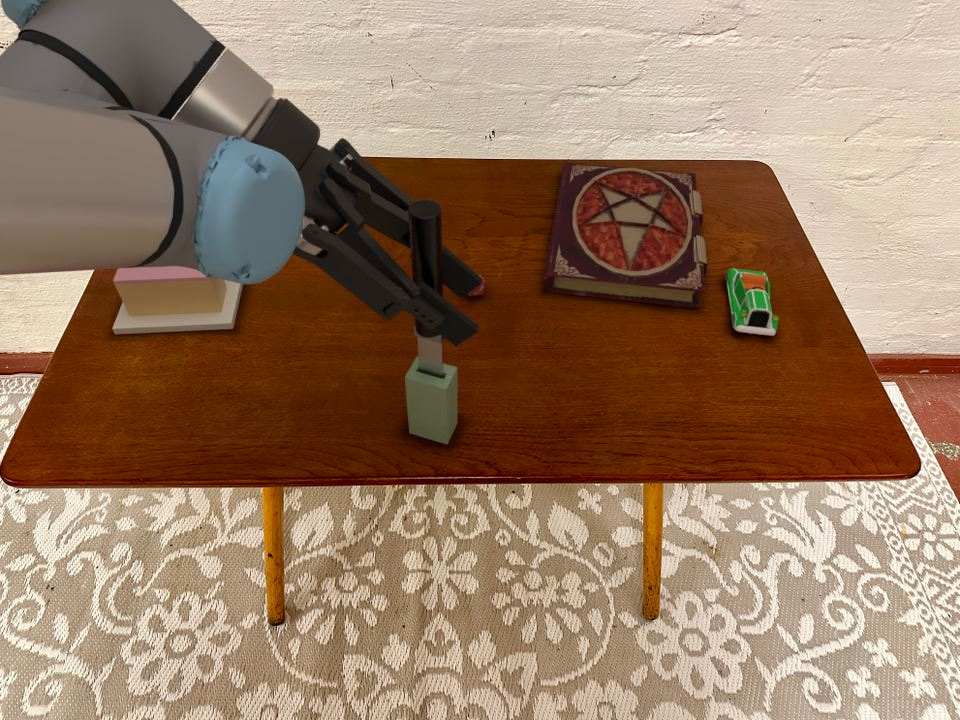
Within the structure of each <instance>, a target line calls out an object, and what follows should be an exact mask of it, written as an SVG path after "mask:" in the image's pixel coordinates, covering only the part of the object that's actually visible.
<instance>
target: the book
mask: <svg viewBox="0 0 960 720" xmlns="http://www.w3.org/2000/svg"><path fill="white" fill-rule="evenodd" d="M697 187H698V186H697V175H696V173H695V172H685V171H684V172H682V171H671V170H658V169H645V168H635V167H623V166H612V165H611V166H610V165H600V164H599V165H598V164H586V163H575V162H574V163H573V162H566V163H564V165H563V166H562V170H561V176H560V181H559V188H558V194H557V200H556V205H555V210H554V211H555V212H554V217H553V224H552V228H551V235H550V240H549V246H548V252H547V258H546V263H545V270H544V275H543V284H542V287H543V289H544V290H545V291H546V292H548V293H549V292H550V293H556V294H557V293H558V294H566V295H567V294H568V295H575V296H583V297H592V298H593V297H594V298H600V299H601V298H602V299H610V300H618V301H619V300H620V301H627V302H635V303H643V304H653V305H662V306H670V307H671V306H672V307H680V308H689V309H697V310H701V306H702V305H701V296H700V295H701V294H700V293H706V282H705V277H706V275H707V274H708V273H707V272H708V256H707V245H706V244H707V243H706V238H705V237H703V236H702V235H701V227H702V225H703V221H704V220H703V219H704V213H703V201H702V193H701V192H699V191H698V189H697Z"/></svg>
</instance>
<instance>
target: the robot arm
mask: <svg viewBox="0 0 960 720" xmlns="http://www.w3.org/2000/svg"><path fill="white" fill-rule="evenodd" d="M0 5H1V8H2V11H3V13H4V15H5V17H7V18H8V19H9V21H11V22H12V23H14V24H15V25H16V26H17V29H18V30H19V32H18V33H17V38H16V39H15V40H14V41H13V42H12V43H10V45H8V46H7V48H5V50H3V52H2V53H1V54H0V276H12V275H29V274H30V275H31V274H45V273H47V274H48V273H62V272H63V273H64V272H81V271H100V270H101V271H102V270H118V268H136V267H166V266H179V267H186V268H191V269H195V270H198V271H200V272H201V273H203V274H204V275H205V276H206V277H210V278H211V279H218V278H220V279H224V280H228V281H232V282H236V283H240V284H243V285H256V284H260V283H262V282H265V281H267V280H268V279H271V278H272V277H273V276H274V275H276V274H277V273H278V272H280V271H281V270H282V269H283V267H284V266H285V265H286V264H287V263H288V261H289V259H290V258H292V257H291V256H292V255H294V256H295V257H298V258H300V259H302V260H303V261H307V262H309V263H311V264H313V265H315V266H316V267H317V268H319V269H320V270H321V271H322V272H324V273H325V274H326V275H328V276H329V277H330V278H331V279H333V280H334V281H335V282H336V283H337V284H339V285H340V286H341V287H343V288H344V289H345V290H347V291H348V292H349V293H351V295H353V296H355V298H357V299H358V300H359V301H361V302H362V303H363V304H365V305H366V306H367V307H369V308H370V309H371V310H372V311H373V312H375V313H376V314H377V315H378V316H380V317H381V318H382V319H383V320H385V321H391V320H392V319H394V318H395V317H396V316H398V315H399V314H400V313H402V312H404V311H405V312H406V313H407V314H409V315H410V316H411V317H412V318H414V320H415V319H417V320H418V321H419V322H421V323H423V325H425V326H426V327H427V328H430V329H433V330H435V331H436V332H437V333H439V334H440V335H441V336H443V337H444V339H445V340H447V341H448V342H449V343H450V344H452V345H453V346H455V347H458V346H459V345H461V344H462V343H464V342H466V341H467V340H469V339H470V338H472V337H473V336H474V335H476V334H478V333H479V329H480V326H479V324H477V323H476V322H475V321H474V320H472V319H471V318H470V317H468V316H467V315H466V314H465V313H463V312H462V311H461V310H460V309H458V308H457V307H456V306H455V305H453V303H451V302H449V300H447V299H446V298H445V297H444V296H443V297H442V296H441V295H439V294H438V293H437V292H436V291H434V290H433V289H432V288H431V287H429V286H428V285H427V284H426V283H424V282H423V283H422V284H420V285H419V286H417V285H416V284H415V283H414V281H413V280H412V277H410V276H409V275H408V274H407V273H406V272H405V270H404V269H403V268H402V267H401V266H400V265H399V264H398V263H397V261H395V259H394V258H393V257H392V256H391V255H390V254H389V253H388V251H387V250H386V249H385V248H384V247H383V246H382V245H381V244H380V243H379V242H378V240H377V239H376V238H375V237H374V236H373V235H372V234H371V233H370V232H369V231H368V230H367V228H366V227H367V226H368V227H369V228H371V229H373V230H375V231H376V232H378V233H380V234H382V235H384V236H386V237H387V238H389V239H391V240H393V241H395V242H397V243H398V244H400V245H402V246H404V247H406V248H408V249H411V247H410V231H409V215H408V208H409V206H410V205H411V204H412V203H413V202H415V200H414V199H413V198H411V196H409V195H408V194H407V193H405V192H404V190H402V189H401V188H399V187H398V186H397V185H396V184H395V183H393V182H392V181H391V180H390V179H388V177H386V176H385V175H384V174H382V173H381V171H379V170H378V169H376V167H374V166H373V165H372V164H370V162H368V161H367V160H366V159H364V158H363V156H361V155H360V153H359V152H358V151H357V150H356V148H355V147H354V146H353V145H352V144H351V143H350V142H349V141H348V140H347V139H346V138H345V137H341V138H339V140H338V141H337V142H335V144H334V145H332V147H331V148H330V149H328V148H326V147H324V146H323V145H320V144H318V143H319V141H320V138H321V129H320V126H319V125H318V124H317V123H316V122H314V121H313V119H311V118H310V117H309V116H307V114H305V113H304V112H303V111H302V110H301V109H300V108H298V106H296V105H295V104H294V103H293V102H291V101H290V100H289V99H288V98H283V97H279V98H278V99H276V97H274V96H273V95H274V93H275V90H274V89H275V88H274V86H273V84H271V83H270V82H269V81H268V80H266V78H264V77H263V76H262V75H261V74H259V72H257V71H255V70H254V69H253V67H251V66H250V65H248V64H247V63H246V62H245V61H244V60H242V59H241V58H240V57H239V56H238V55H236V54H235V53H234V52H233V51H232V50H231V49H229V48H228V47H226V45H224V44H223V43H222V42H221V41H219V40H218V39H217V38H216V37H215V36H214V35H213V34H212V33H210V31H208V30H207V29H206V27H205V26H203V25H201V24H200V23H199V22H198V21H197V20H196V19H195V18H193V16H191V14H189V13H188V12H187V11H186V10H184V8H182V7H181V6H180V5H179V4H177V3H176V2H175V1H174V0H0ZM219 57H220V58H219ZM365 225H366V227H365ZM343 227H344V228H343ZM342 228H343V229H342ZM341 229H342V230H341ZM340 230H341V231H340ZM339 231H340V232H339ZM409 258H411V251H410V254H409ZM442 271H443V286H444V287H446V288H447V289H448V290H449V291H451V292H453V294H455V295H456V296H457V297H458V298H460V299H462V298H464V297H465V296H466V295H468V293H469V292H471V291H472V290H474V289H475V288H476V287H478V286H479V285H481V284H482V278H481V277H480V276H479V275H478V274H479V273H477V272H476V271H474V270H473V269H472V268H470V267H469V265H467V264H466V263H465V262H463V260H461V258H459V257H458V256H457V255H455V254H454V253H453V252H452V251H451V250H450V249H449V248H447V247H446V246H445V245H444V244H443V243H442Z"/></svg>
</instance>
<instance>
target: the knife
mask: <svg viewBox="0 0 960 720" xmlns="http://www.w3.org/2000/svg"><path fill="white" fill-rule="evenodd" d="M414 201H415V200H414ZM407 213H408V215H409V231H410V247H411V248H410V252H411V257H410V262H411V263H410V264H411V279H412V280H413V281H414V283H415V284H416V285H417V286H419V285H420V284H422V283H423V282H424V283H426V284H427V285H428V286H429V287H431V288H432V289H433V290H434V291H436V292H437V293H438V294H439V295H441V296H442V297H443V298H444V284H443V271H442V244H443V225H442V224H443V221H442V206H441V205H440V203H438V202H436V201H434V200H431V199H419V200H416V201H415V202H413V203H412V204H411V205H410V206H409V208H408V211H407ZM412 330H413V337H415V338H417V339H416V340H417V356H418V358H419V372H420V373H424V374H427V375H431V376H435V377H438V378H442V379H444V374H443V363H444V339H445V338H444V337H443V336H441V335H440V334H439V333H437V332H436V331H435V330H433V329H430V328H427V327H426V326H425V325H423V323H421V322H419V321H418V320H417V319H415V318H414V326H413V329H412Z"/></svg>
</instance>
